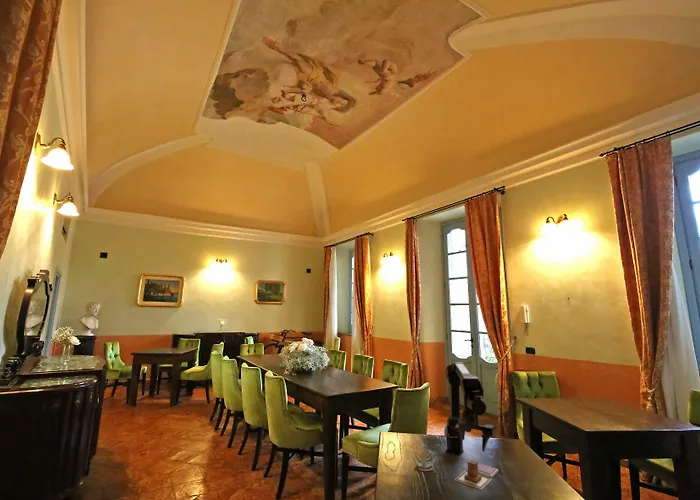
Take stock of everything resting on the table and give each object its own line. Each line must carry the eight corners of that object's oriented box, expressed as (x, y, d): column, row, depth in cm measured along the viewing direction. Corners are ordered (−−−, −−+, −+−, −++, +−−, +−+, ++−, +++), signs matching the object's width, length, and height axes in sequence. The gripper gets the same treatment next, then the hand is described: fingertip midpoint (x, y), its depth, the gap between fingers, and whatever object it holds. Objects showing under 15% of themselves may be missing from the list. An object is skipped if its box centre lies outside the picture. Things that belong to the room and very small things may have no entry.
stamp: (464, 479, 143) (464, 461, 144) (469, 475, 147) (469, 458, 148) (476, 483, 140) (476, 465, 141) (481, 479, 143) (480, 461, 144)
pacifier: (435, 472, 150) (430, 465, 155) (435, 456, 150) (430, 450, 156) (418, 472, 149) (414, 465, 155) (418, 456, 150) (414, 450, 156)
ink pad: (468, 470, 151) (468, 467, 152) (475, 464, 157) (475, 461, 158) (491, 478, 145) (491, 474, 145) (498, 471, 151) (498, 468, 151)
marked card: (454, 480, 142) (454, 478, 142) (465, 471, 151) (465, 469, 151) (481, 489, 135) (481, 488, 135) (491, 479, 144) (491, 478, 144)
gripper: (441, 407, 148) (442, 447, 145) (486, 417, 136) (488, 461, 133) (453, 402, 156) (454, 440, 153) (496, 411, 144) (498, 452, 141)
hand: (472, 448), depth 145 cm, fingers open, 9 cm apart
